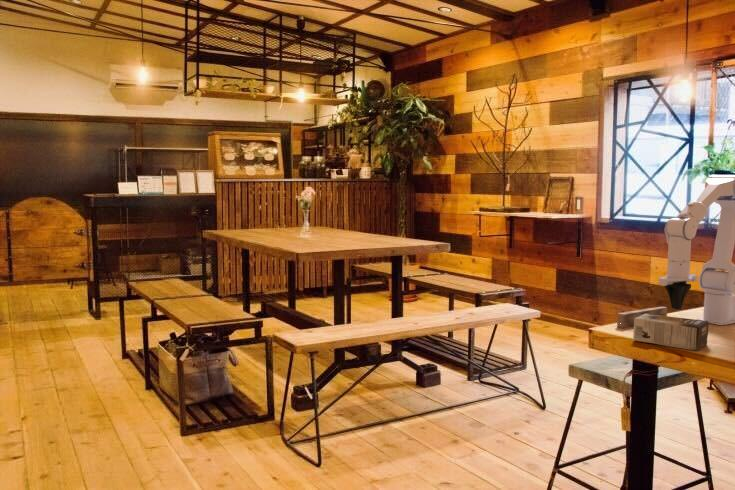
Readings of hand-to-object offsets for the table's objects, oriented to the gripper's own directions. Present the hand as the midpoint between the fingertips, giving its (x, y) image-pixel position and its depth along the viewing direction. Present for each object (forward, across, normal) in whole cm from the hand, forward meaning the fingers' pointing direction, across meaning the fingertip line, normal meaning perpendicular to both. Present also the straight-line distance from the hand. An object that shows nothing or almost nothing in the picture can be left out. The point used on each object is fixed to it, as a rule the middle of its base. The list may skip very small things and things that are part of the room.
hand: (676, 308), depth 188 cm
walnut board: (+6, 0, +11) cm, 13 cm away
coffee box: (+3, -16, 0) cm, 17 cm away
